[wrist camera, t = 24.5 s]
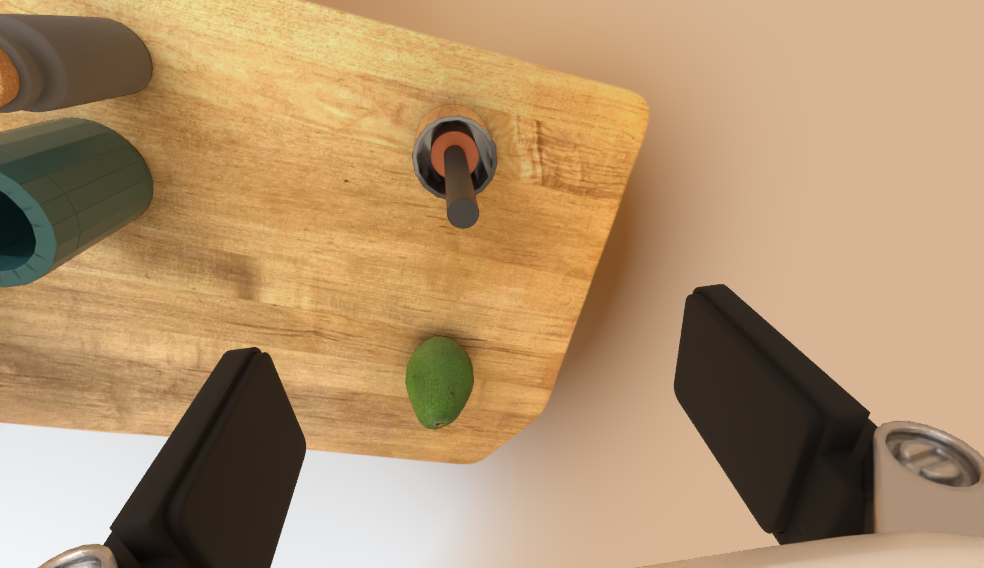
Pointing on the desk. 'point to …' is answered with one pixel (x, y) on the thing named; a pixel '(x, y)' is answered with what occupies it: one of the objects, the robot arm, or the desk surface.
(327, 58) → the desk surface
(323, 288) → the desk surface
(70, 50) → the bottle
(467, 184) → the rod with orange collar
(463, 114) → the holder
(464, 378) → the fruit
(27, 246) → the jar
